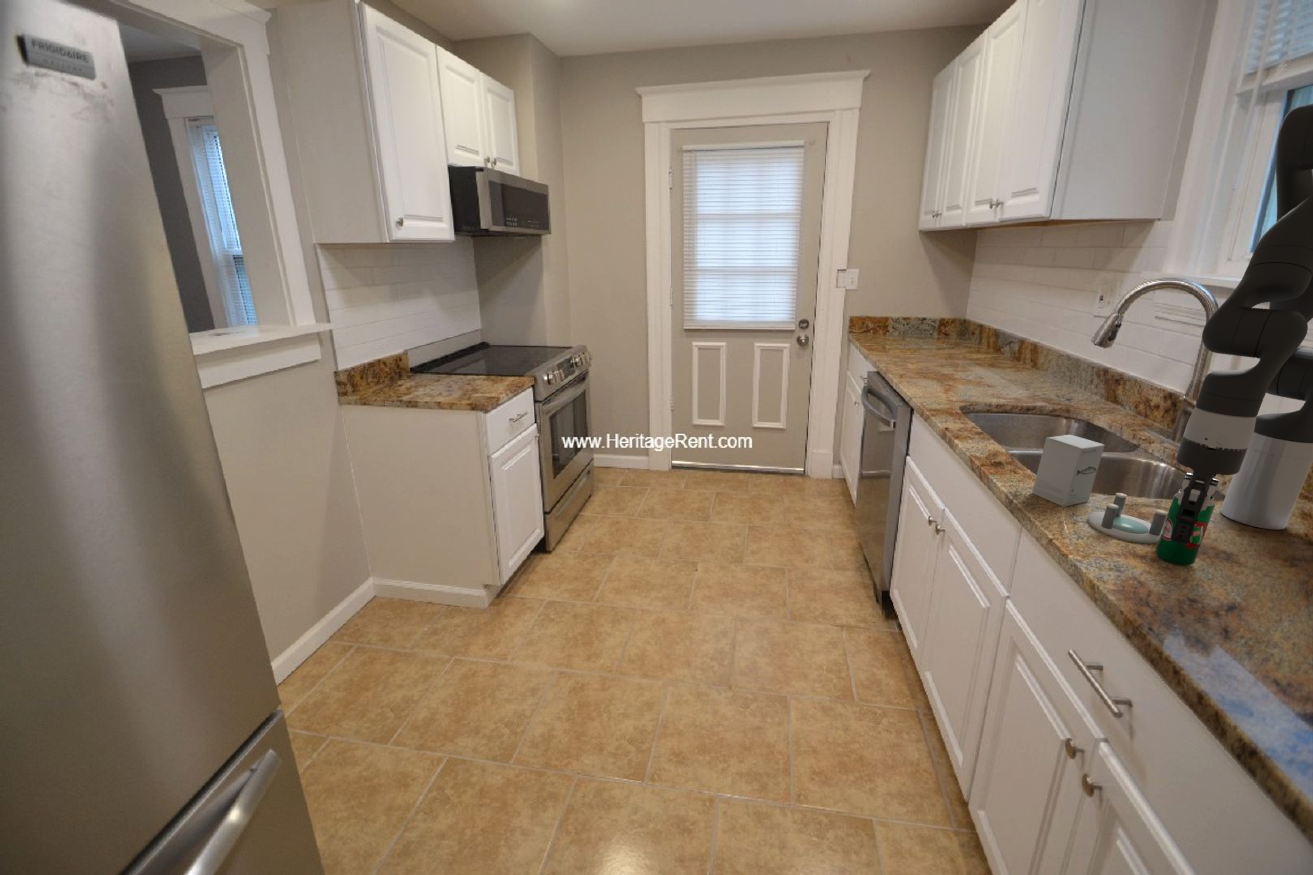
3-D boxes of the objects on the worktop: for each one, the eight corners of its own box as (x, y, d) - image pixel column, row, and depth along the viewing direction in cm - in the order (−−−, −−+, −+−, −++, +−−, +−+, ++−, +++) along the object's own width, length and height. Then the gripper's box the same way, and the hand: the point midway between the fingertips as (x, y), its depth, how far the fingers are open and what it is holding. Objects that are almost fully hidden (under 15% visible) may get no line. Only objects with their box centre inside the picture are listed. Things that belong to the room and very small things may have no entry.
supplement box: (1065, 507, 117) (1081, 448, 113) (1030, 493, 124) (1044, 436, 119) (1089, 502, 120) (1106, 444, 116) (1054, 488, 126) (1069, 433, 122)
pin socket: (1095, 510, 116) (1102, 486, 114) (1166, 530, 109) (1175, 505, 107) (1081, 527, 109) (1088, 502, 107) (1156, 549, 101) (1165, 523, 100)
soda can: (1154, 549, 101) (1175, 485, 98) (1192, 559, 98) (1216, 493, 95) (1153, 560, 98) (1176, 494, 94) (1193, 571, 95) (1218, 503, 91)
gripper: (1190, 424, 98) (1159, 516, 104) (1177, 442, 89) (1144, 542, 95) (1252, 435, 93) (1216, 531, 99) (1245, 456, 84) (1206, 560, 89)
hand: (1181, 536), depth 97 cm, fingers closed on soda can, 5 cm apart
